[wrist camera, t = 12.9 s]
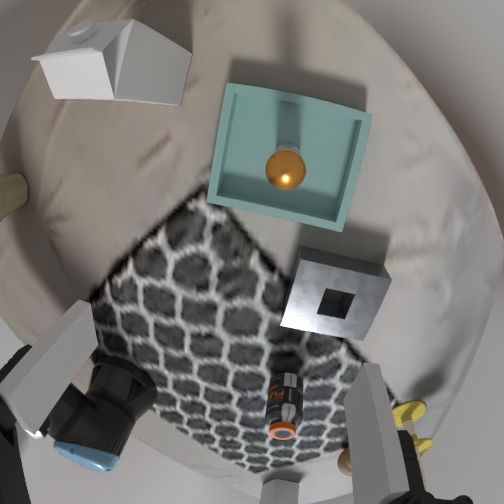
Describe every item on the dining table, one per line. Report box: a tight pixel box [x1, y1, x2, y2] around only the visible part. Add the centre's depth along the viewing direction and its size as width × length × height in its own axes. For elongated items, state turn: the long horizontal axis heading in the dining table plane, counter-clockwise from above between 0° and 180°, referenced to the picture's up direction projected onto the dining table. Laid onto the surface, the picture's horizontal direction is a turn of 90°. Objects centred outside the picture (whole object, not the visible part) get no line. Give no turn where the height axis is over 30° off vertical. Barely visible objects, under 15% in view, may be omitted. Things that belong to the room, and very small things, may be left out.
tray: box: [207, 83, 372, 232], centre depth 32 cm, size 16×14×3 cm
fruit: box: [337, 447, 352, 476], centre depth 53 cm, size 8×8×8 cm
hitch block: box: [281, 246, 392, 341], centre depth 38 cm, size 12×10×4 cm
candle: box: [392, 401, 433, 492], centre depth 37 cm, size 10×10×27 cm
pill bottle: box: [265, 373, 303, 440], centre depth 43 cm, size 6×6×11 cm
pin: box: [265, 143, 306, 190], centre depth 26 cm, size 3×3×14 cm
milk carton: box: [31, 19, 192, 106], centre depth 22 cm, size 7×7×19 cm
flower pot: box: [0, 173, 28, 222], centre depth 36 cm, size 9×9×9 cm
